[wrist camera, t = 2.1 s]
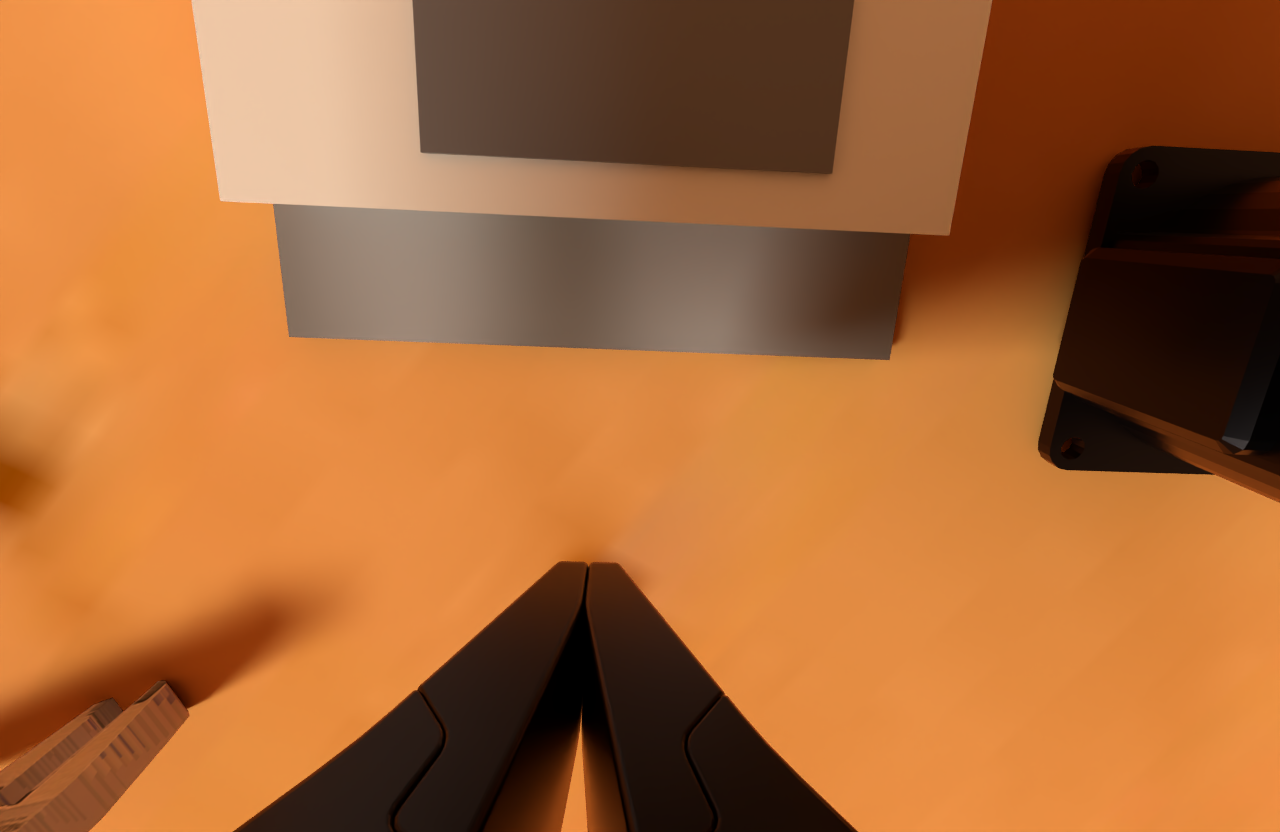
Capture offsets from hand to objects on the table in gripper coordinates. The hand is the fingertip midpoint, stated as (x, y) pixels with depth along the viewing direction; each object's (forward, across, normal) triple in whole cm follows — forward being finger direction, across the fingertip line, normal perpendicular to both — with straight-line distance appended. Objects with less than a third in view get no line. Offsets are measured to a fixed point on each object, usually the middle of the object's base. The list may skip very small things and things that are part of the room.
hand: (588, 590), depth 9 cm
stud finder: (+5, 0, -7) cm, 9 cm away
